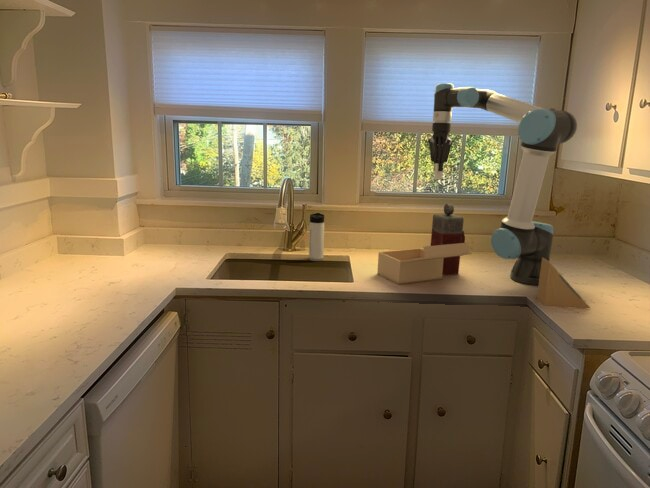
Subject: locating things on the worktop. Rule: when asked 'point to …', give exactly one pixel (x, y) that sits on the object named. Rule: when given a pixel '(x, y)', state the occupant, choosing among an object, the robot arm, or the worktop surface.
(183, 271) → the worktop surface
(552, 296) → the sandwich container
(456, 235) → the red grinder
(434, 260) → the mailer box
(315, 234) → the travel mug
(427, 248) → the mailer lid
